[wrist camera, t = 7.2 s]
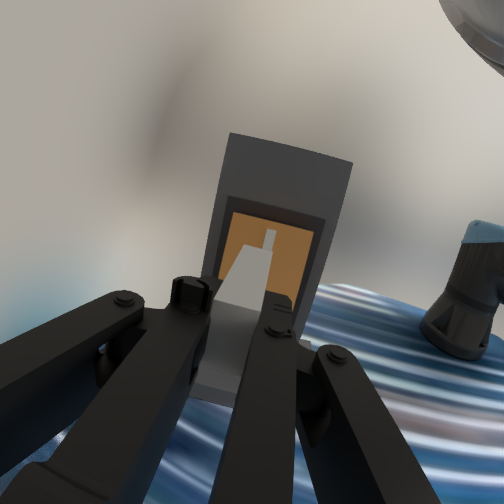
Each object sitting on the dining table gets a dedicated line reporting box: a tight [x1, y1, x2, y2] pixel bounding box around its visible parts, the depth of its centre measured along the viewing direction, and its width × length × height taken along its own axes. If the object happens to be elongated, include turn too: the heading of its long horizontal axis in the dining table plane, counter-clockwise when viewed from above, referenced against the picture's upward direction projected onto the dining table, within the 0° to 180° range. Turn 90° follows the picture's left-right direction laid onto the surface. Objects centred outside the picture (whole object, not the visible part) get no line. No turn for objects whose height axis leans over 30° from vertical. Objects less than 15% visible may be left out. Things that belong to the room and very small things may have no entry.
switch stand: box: [189, 133, 353, 408], centre depth 29 cm, size 12×16×23 cm
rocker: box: [218, 212, 314, 312], centre depth 24 cm, size 2×6×10 cm, turn 82°
